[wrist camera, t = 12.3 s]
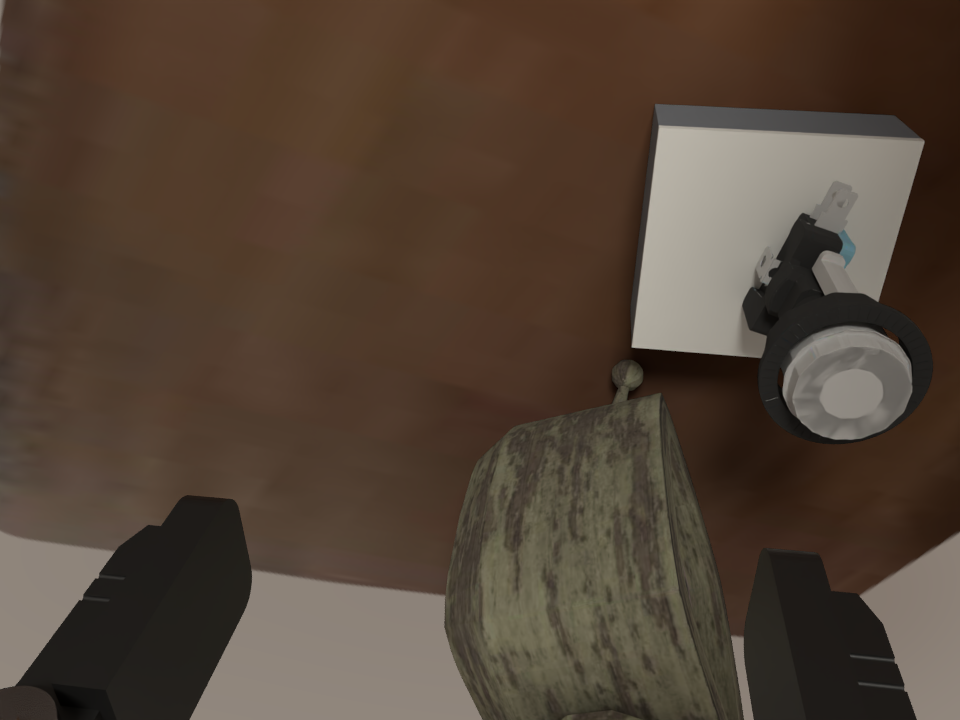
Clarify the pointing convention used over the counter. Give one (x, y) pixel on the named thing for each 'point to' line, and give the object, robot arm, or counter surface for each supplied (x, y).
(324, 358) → the counter surface
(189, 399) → the counter surface
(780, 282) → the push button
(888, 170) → the plinth
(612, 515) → the tabletop clock
